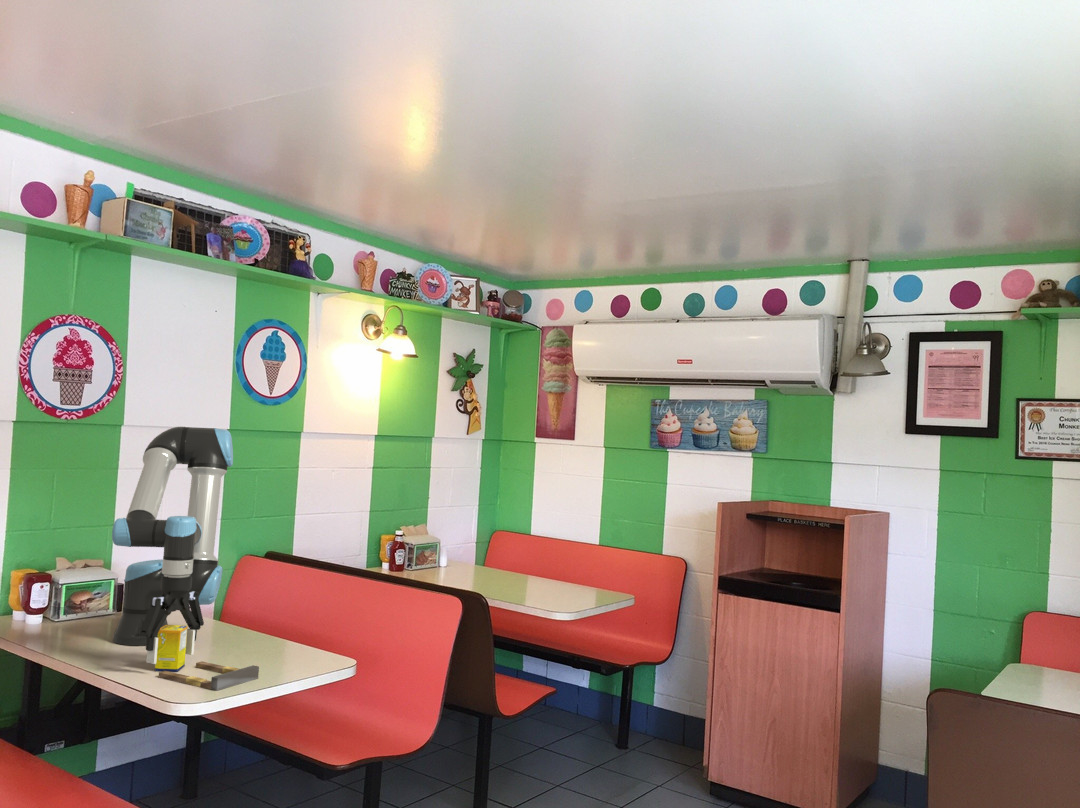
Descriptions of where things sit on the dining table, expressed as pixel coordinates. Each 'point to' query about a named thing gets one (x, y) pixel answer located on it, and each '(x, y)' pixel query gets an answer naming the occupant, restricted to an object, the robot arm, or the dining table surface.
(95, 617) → the dining table surface
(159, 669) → the supplement box
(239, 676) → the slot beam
